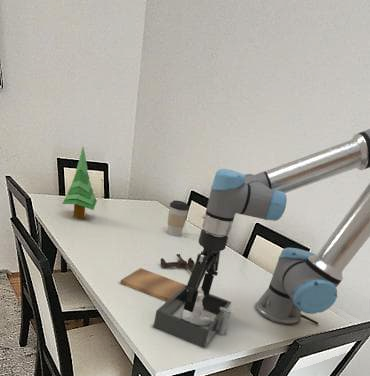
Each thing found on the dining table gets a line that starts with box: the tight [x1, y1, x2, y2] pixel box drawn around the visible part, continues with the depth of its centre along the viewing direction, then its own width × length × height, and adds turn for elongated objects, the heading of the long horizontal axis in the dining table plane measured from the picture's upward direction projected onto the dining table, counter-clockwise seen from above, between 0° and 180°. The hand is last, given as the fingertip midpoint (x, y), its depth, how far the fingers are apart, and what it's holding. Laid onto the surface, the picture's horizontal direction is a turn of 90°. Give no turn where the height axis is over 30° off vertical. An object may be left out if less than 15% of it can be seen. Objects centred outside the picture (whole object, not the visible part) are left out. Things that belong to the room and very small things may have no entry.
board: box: [120, 267, 186, 302], centre depth 131 cm, size 20×14×1 cm
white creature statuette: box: [181, 285, 213, 327], centre depth 113 cm, size 10×9×12 cm
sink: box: [153, 284, 232, 348], centre depth 114 cm, size 18×22×8 cm
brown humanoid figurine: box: [160, 253, 195, 274], centre depth 149 cm, size 18×4×14 cm
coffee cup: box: [166, 199, 190, 237], centre depth 179 cm, size 9×9×15 cm
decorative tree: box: [62, 147, 98, 220], centre depth 167 cm, size 14×16×30 cm
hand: (196, 301), depth 113 cm, fingers open, 13 cm apart
